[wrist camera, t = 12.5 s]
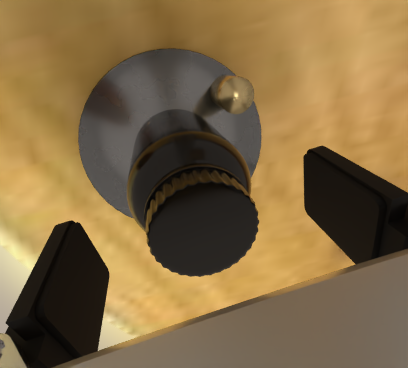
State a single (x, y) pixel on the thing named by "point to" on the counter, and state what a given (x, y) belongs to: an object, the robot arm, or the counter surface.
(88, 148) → the plate
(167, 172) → the supplement bottle
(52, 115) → the counter surface
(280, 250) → the counter surface
